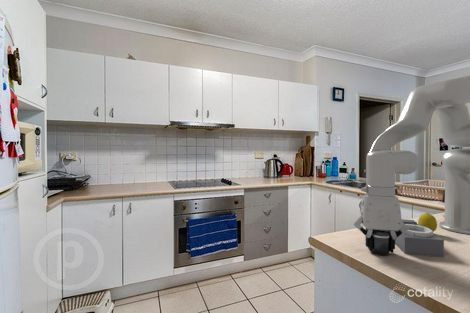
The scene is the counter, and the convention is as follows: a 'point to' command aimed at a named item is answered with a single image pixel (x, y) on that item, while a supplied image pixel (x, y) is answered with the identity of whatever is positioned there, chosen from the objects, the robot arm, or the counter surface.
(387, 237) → the lens
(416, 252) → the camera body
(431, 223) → the lemon
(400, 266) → the counter surface
